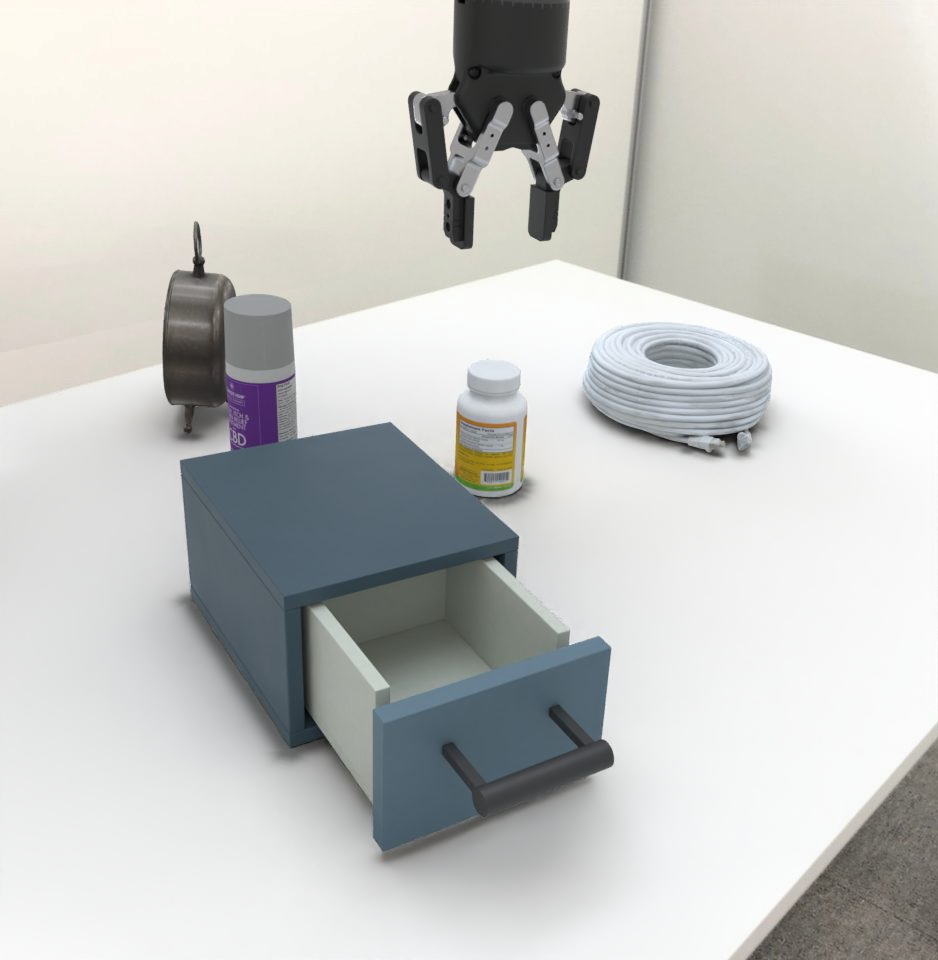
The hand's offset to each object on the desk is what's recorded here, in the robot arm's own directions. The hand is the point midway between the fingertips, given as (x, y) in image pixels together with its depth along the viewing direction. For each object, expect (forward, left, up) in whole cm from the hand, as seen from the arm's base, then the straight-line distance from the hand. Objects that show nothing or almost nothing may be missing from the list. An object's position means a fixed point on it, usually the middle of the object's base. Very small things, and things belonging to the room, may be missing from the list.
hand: (500, 241), depth 85 cm
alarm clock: (-15, +21, -20) cm, 32 cm away
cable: (+23, +6, -20) cm, 31 cm away
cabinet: (-18, -14, -20) cm, 30 cm away
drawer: (-18, -27, -19) cm, 38 cm away
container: (-16, +5, -20) cm, 26 cm away
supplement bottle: (0, 0, -20) cm, 20 cm away
